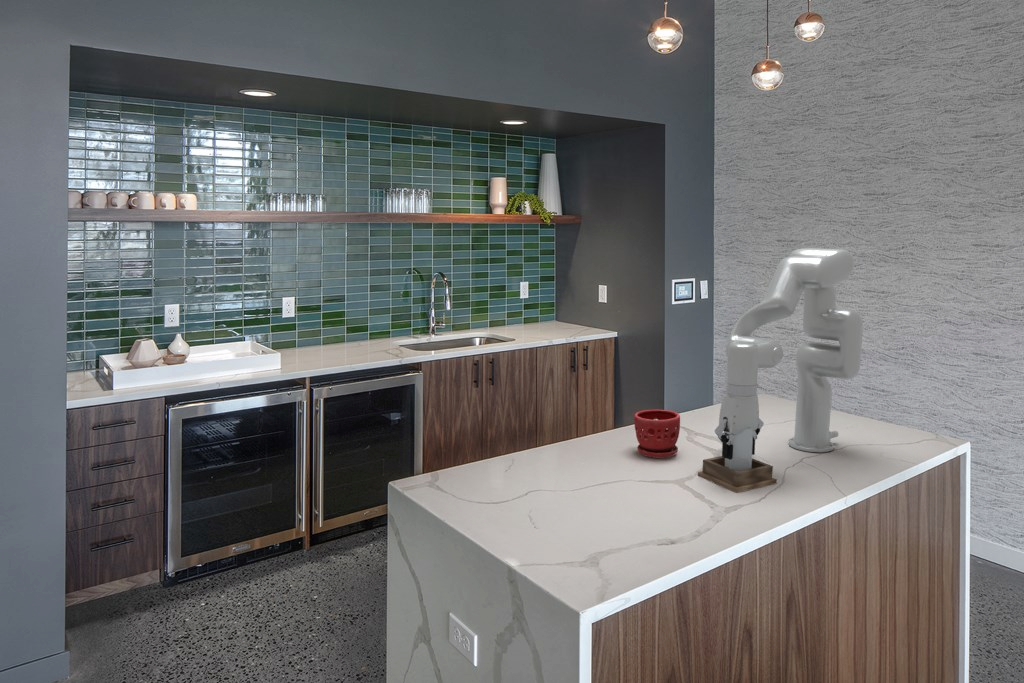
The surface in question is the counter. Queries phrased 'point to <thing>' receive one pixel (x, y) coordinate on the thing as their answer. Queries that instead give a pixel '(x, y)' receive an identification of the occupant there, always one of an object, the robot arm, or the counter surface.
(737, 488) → the square wooden tray
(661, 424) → the plant pot
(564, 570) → the counter surface
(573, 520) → the counter surface
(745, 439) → the skincare box
